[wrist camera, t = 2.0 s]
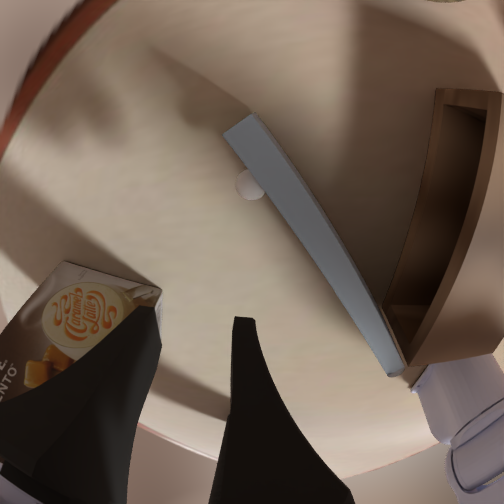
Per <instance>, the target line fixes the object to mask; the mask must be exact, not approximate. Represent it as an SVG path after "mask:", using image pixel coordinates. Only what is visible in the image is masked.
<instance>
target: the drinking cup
mask: <svg viewBox="0 0 504 504" xmlns="http://www.w3.org/2000/svg"><path fill="white" fill-rule="evenodd" d="M229 420H230V414H229V415H228V418H227V422H226V427H225V432H224V436H223V441H222V445H221V450H220V454H219V459H218V463H217V468H216V472H215V477H214V481H213V485H212V490H211V494H210V499H209V503H208V504H220V499H221V490H222V482H223V473H224V465H225V456H226V447H227V438H228V429H229Z"/></svg>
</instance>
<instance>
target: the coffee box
mask: <svg viewBox="0 0 504 504" xmlns="http://www.w3.org/2000/svg"><path fill="white" fill-rule="evenodd" d="M162 297H163V291H162V290H161V289H159V288H155V287H151V286H148V285H144V284H140V283H136V282H133V281H129V280H125V279H122V278H119V277H115V276H111V275H108V274H105V273H101V272H98V271H95V270H91V269H88V268H85V267H81V266H78V265H75V264H72V263H69V262H66V261H62V262H61V263H60V264H59V265H58V267H57V268H56V269H55V270H54V271H53V272H52V273H51V274H50V275H49V276H48V277H47V278H46V280H45V281H44V282H43V283H42V284H41V285H40V286H39V287H38V288H37V290H36V291H35V292H34V293H33V294H32V295H31V297H30V298H29V299H28V300H27V301H26V302H25V304H24V305H23V306H22V307H21V309H20V310H19V311H18V312H17V314H16V315H15V316H14V317H13V319H12V320H11V321H10V322H9V323H8V325H7V326H6V327H5V329H4V330H3V332H2V333H1V334H0V403H1V402H4V401H7V400H9V399H12V398H14V397H17V396H19V395H21V394H23V393H25V392H27V391H29V390H31V389H33V388H35V387H37V386H39V385H41V384H42V383H44V382H46V381H47V380H49V379H51V378H52V377H54V376H56V375H57V374H59V373H60V372H62V371H63V370H65V369H66V368H68V367H69V366H71V365H72V364H73V363H75V362H76V361H77V360H78V359H80V358H81V357H82V356H83V355H85V354H86V353H87V352H88V351H89V350H91V349H92V348H93V347H94V346H95V345H97V344H98V343H99V342H100V341H101V340H102V339H103V338H104V337H105V336H107V335H108V334H109V333H110V332H111V331H112V330H113V329H114V328H115V327H116V326H117V325H118V324H120V323H121V322H122V321H123V320H124V319H125V318H126V317H127V316H128V315H129V314H130V313H131V312H132V311H133V310H135V309H136V308H137V307H138V306H139V305H141V306H148V307H155V312H156V318H157V323H158V328H159V333H160V338H161V330H162ZM4 460H5V459H3V458H2V457H1V456H0V462H1V463H2V464H3V462H4Z"/></svg>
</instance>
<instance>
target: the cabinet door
mask: <svg viewBox="0 0 504 504" xmlns="http://www.w3.org/2000/svg"><path fill="white" fill-rule="evenodd" d="M222 136H223V137H224V138H225V140H226V141H227V142H228V143H229V145H230V146H231V147H232V149H233V150H234V151H235V152H236V154H237V155H238V156H239V158H240V159H241V160H242V162H243V163H244V164H245V166H246V167H247V168H248V169H246V170H244V171H242V172H241V173H240V174H239V175H238V177H237V179H236V190H237V192H238V194H239V195H240V196H241V197H243V198H244V199H247V200H257V199H259V198H261V197H262V196H263V195H264V194H265V192H266V194H267V195H268V196H269V198H270V199H271V200H272V202H273V203H274V205H275V206H276V207H277V209H278V210H279V212H280V213H281V214H282V216H283V217H284V219H285V220H286V221H287V223H288V224H289V226H290V227H291V228H292V230H293V231H294V233H295V234H296V235H297V237H298V238H299V240H300V241H301V243H302V244H303V245H304V247H305V248H306V250H307V251H308V253H309V254H310V256H311V257H312V259H313V260H314V261H315V263H316V264H317V266H318V267H319V269H320V270H321V272H322V273H323V275H324V276H325V278H326V279H327V281H328V282H329V284H330V285H331V287H332V288H333V290H334V291H335V293H336V294H337V296H338V297H339V299H340V300H341V302H342V304H343V305H344V307H345V308H346V310H347V311H348V313H349V314H350V316H351V317H352V319H353V321H354V322H355V324H356V325H357V327H358V329H359V330H360V332H361V333H362V335H363V336H364V338H365V340H366V341H367V343H368V345H369V346H370V348H371V349H372V351H373V353H374V354H375V356H376V358H377V359H378V361H379V363H380V364H381V366H382V368H383V369H384V371H385V373H386V374H387V376H388V377H396V376H398V375H400V374H401V373H402V372H403V371H404V369H405V367H404V365H403V362H402V360H401V357H400V355H399V352H398V350H397V348H396V345H395V343H394V341H393V338H392V336H391V334H390V331H389V329H388V327H387V325H386V322H385V320H384V318H383V316H382V314H381V311H380V309H379V307H378V305H377V304H376V302H375V300H374V298H373V296H372V294H371V292H370V290H369V288H368V286H367V285H366V283H365V281H364V279H363V277H362V275H361V274H360V272H359V270H358V268H357V266H356V265H355V263H354V261H353V259H352V258H351V256H350V254H349V252H348V251H347V249H346V247H345V245H344V244H343V242H342V240H341V239H340V237H339V235H338V234H337V232H336V230H335V229H334V227H333V225H332V224H331V222H330V220H329V219H328V217H327V216H326V214H325V212H324V211H323V209H322V208H321V206H320V204H319V203H318V201H317V200H316V198H315V197H314V195H313V193H312V192H311V190H310V189H309V187H308V186H307V184H306V183H305V181H304V180H303V178H302V177H301V175H300V174H299V172H298V171H297V169H296V168H295V166H294V165H293V164H292V162H291V161H290V159H289V158H288V156H287V155H286V153H285V152H284V151H283V149H282V148H281V146H280V145H279V144H278V142H277V141H276V139H275V138H274V137H273V135H272V134H271V132H270V131H269V130H268V128H267V127H266V126H265V124H264V123H263V122H262V120H261V119H260V118H259V116H258V115H257V114H256V112H255V113H252V114H250V115H249V116H247V117H246V118H244V119H243V120H242V121H240V122H239V123H237V124H236V125H234V126H233V127H232V128H230V129H229V130H228V131H226V132H225V133H223V134H222Z"/></svg>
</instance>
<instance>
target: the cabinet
mask: <svg viewBox="0 0 504 504" xmlns="http://www.w3.org/2000/svg"><path fill="white" fill-rule="evenodd" d="M382 309H383V311H384V313H385V315H386V317H387V319H388V321H389V323H390V326H391V328H392V330H393V332H394V334H395V337H396V339H397V341H398V344H399V346H400V348H401V350H402V353H403V355H404V358H405V360H406V362H407V365H408V367H410V366H419V365H427V364H435V363H442V362H448V361H454V360H460V359H466V358H471V357H476V356H481V355H486V354H490V353H493V352H494V351H495V349H496V348H497V346H498V345H499V343H500V342H501V340H502V339H503V337H504V94H503V93H501V92H492V91H482V90H468V89H438V88H436V95H435V105H434V114H433V122H432V129H431V135H430V141H429V147H428V153H427V158H426V163H425V168H424V173H423V178H422V182H421V186H420V191H419V195H418V199H417V203H416V207H415V210H414V214H413V218H412V221H411V225H410V228H409V232H408V235H407V238H406V241H405V244H404V248H403V251H402V254H401V257H400V260H399V263H398V265H397V268H396V271H395V274H394V277H393V279H392V282H391V285H390V287H389V290H388V293H387V295H386V298H385V300H384V303H383V305H382Z"/></svg>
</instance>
